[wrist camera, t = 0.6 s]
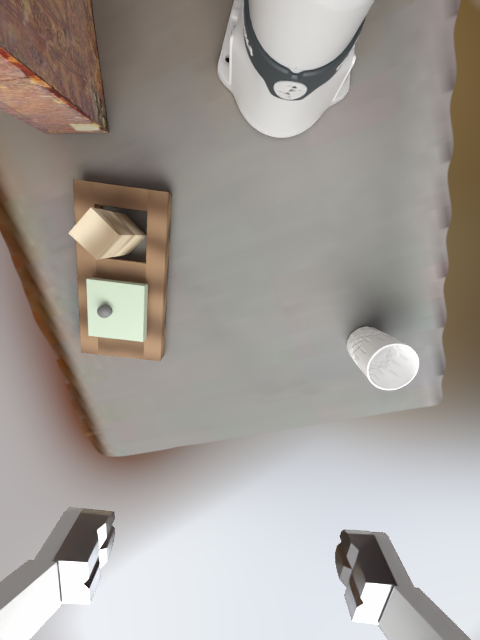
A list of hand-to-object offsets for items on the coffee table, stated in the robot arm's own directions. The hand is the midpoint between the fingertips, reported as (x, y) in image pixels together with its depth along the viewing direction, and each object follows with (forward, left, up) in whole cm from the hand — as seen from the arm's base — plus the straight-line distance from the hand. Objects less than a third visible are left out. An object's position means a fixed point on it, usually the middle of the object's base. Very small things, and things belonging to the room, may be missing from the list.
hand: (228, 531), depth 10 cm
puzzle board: (-1, -19, -40) cm, 45 cm away
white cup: (+6, +25, -41) cm, 48 cm away
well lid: (+4, -19, -38) cm, 42 cm away
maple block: (-8, -19, -41) cm, 45 cm away
